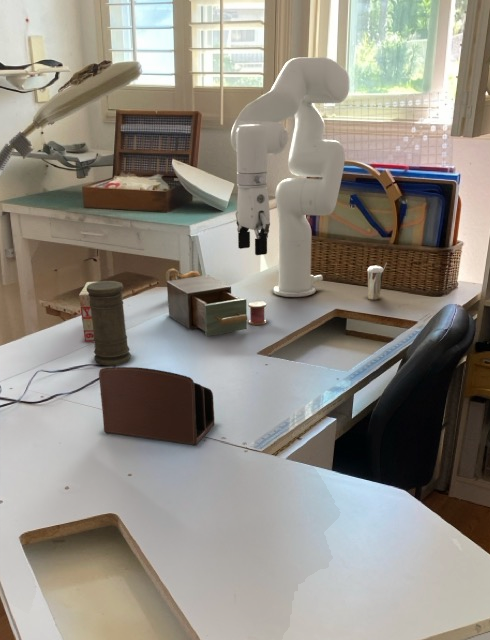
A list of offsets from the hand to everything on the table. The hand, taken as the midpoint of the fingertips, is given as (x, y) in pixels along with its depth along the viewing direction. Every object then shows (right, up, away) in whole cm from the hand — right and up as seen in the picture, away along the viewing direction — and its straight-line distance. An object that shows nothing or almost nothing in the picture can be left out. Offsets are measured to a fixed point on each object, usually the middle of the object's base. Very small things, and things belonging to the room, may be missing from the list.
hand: (252, 251), depth 212 cm
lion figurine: (-19, -2, +33) cm, 38 cm away
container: (-34, -32, -14) cm, 49 cm away
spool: (+2, -16, +8) cm, 18 cm away
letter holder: (-20, -54, -50) cm, 76 cm away
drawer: (-8, -19, +2) cm, 21 cm away
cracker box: (-40, -18, +8) cm, 45 cm away
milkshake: (+37, -5, +25) cm, 44 cm away
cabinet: (-14, -14, +13) cm, 24 cm away
